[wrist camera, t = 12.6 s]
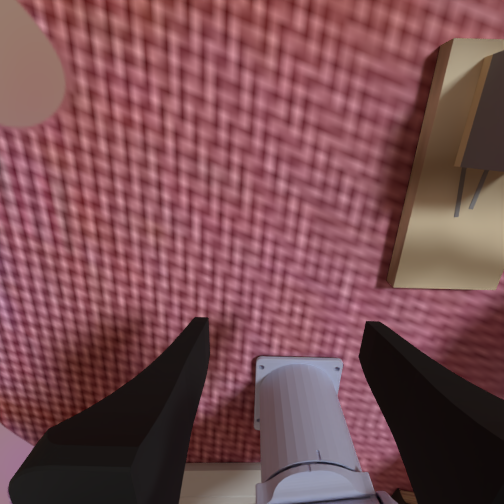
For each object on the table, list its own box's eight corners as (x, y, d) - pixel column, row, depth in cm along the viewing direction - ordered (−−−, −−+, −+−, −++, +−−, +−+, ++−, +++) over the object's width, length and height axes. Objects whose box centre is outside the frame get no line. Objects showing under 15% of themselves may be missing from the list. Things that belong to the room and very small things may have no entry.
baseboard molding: (320, 514, 36) (326, 454, 32) (325, 544, 33) (333, 483, 29) (87, 516, 36) (63, 457, 32) (74, 545, 34) (45, 485, 29)
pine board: (483, 282, 22) (495, 290, 21) (386, 280, 22) (393, 287, 21) (572, 48, 16) (596, 41, 15) (440, 45, 16) (454, 37, 15)
